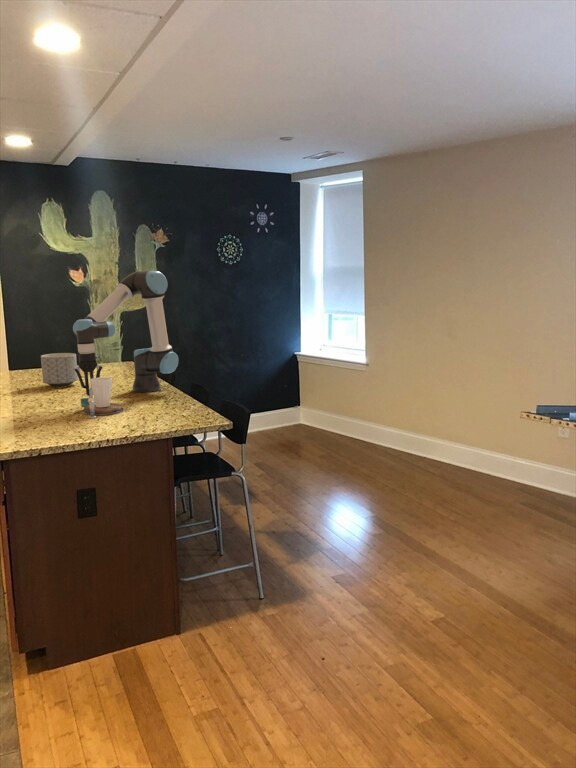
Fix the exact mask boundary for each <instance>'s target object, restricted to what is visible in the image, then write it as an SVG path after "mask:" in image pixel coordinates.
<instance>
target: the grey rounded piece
mask: <svg viewBox="0 0 576 768" xmlns="http://www.w3.org/2000/svg"><path fill="white" fill-rule="evenodd" d="M88 398H89V397H88ZM88 403H89V405H90V416H88V415H87V416H88V419H96V418H98V416H96V415H95V408H94V404H95V399H94V396H93V397H91V398H89V399H88Z"/></svg>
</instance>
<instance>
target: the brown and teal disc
mask: <svg viewBox="0 0 576 768" xmlns="http://www.w3.org/2000/svg"><path fill="white" fill-rule="evenodd" d="M88 399H89V397H82V398H80V404H81V405H80V406H81V408H83V411H84V412H85V413H90V405H89V403H88ZM94 408H95V414H104V413H112V412H117V411H120V410H122V408H123V405H122V404H121V403H116V402H110V406H108V407H96V405H95V404H94Z"/></svg>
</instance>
